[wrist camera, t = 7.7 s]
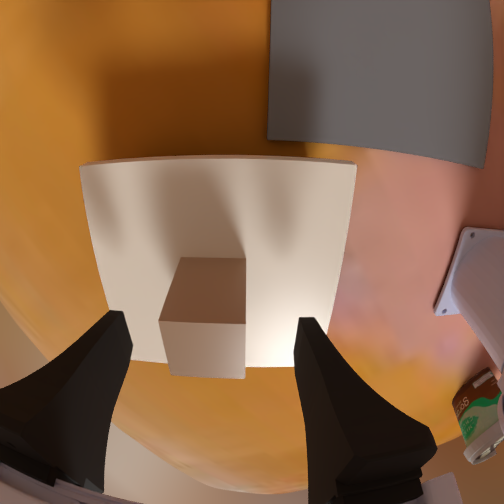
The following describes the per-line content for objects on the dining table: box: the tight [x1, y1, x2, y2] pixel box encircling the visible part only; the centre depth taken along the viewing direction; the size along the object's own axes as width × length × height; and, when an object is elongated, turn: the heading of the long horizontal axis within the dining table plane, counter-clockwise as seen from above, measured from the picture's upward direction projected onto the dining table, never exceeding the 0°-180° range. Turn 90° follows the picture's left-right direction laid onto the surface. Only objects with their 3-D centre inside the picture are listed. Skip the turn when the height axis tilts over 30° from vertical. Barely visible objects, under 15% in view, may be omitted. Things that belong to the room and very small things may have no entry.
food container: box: [452, 367, 504, 464], centre depth 26 cm, size 12×6×10 cm, turn 21°
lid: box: [79, 155, 357, 379], centre depth 13 cm, size 12×12×5 cm
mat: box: [267, 0, 493, 169], centre depth 12 cm, size 15×15×1 cm
